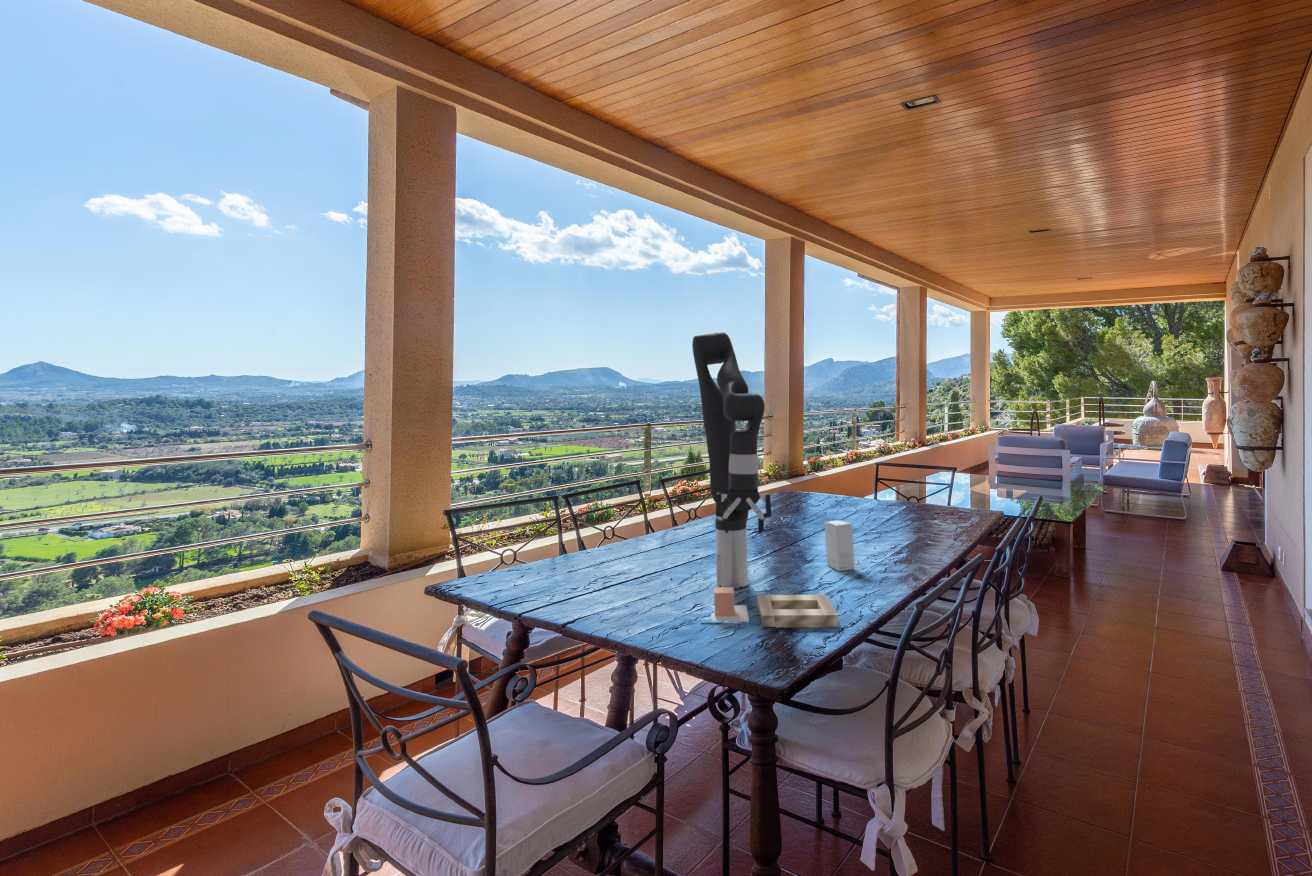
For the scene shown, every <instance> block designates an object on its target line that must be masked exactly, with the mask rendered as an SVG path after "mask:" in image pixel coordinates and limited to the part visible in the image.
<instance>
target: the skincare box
mask: <svg viewBox="0 0 1312 876" xmlns="http://www.w3.org/2000/svg"><path fill="white" fill-rule="evenodd" d="M824 535H825V538H824V539H825V553H826V554H825V556H826V566H827V567H829V566H830V567H829V568H832V569H834V570H836V571H838V572H841V571H842V572H843V571H853V570H855V553H854V552H855V551H854V539H853V538H854V536H853V524H852V523H850V522H847V521H844V520H840V519H839V520H829V521H824Z"/></svg>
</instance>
